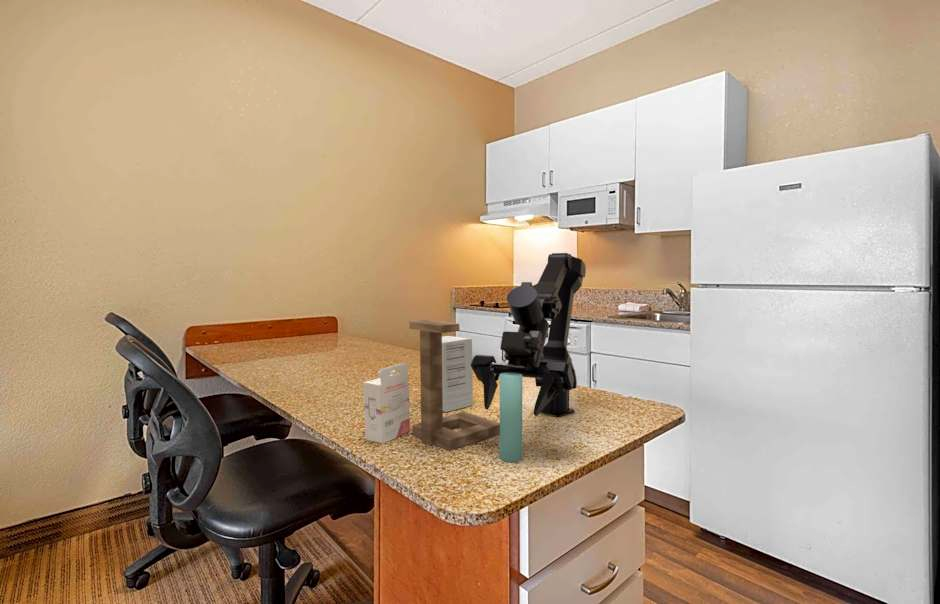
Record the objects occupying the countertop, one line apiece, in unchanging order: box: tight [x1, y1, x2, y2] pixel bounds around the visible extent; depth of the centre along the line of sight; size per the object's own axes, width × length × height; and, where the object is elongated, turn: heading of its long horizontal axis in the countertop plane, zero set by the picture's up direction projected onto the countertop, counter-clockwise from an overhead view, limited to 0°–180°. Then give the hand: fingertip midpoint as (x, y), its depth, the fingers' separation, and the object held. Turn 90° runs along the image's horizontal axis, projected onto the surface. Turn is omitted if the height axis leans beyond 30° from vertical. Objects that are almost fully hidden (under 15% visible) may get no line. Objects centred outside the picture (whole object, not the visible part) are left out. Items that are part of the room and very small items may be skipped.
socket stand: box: [408, 319, 500, 452], centre depth 97 cm, size 15×12×23 cm
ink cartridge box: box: [363, 362, 411, 444], centre depth 97 cm, size 9×5×15 cm, turn 148°
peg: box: [499, 372, 523, 463], centre depth 85 cm, size 4×4×15 cm
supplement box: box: [442, 335, 474, 413], centre depth 119 cm, size 10×9×17 cm
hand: (509, 411), depth 84 cm, fingers open, 9 cm apart
